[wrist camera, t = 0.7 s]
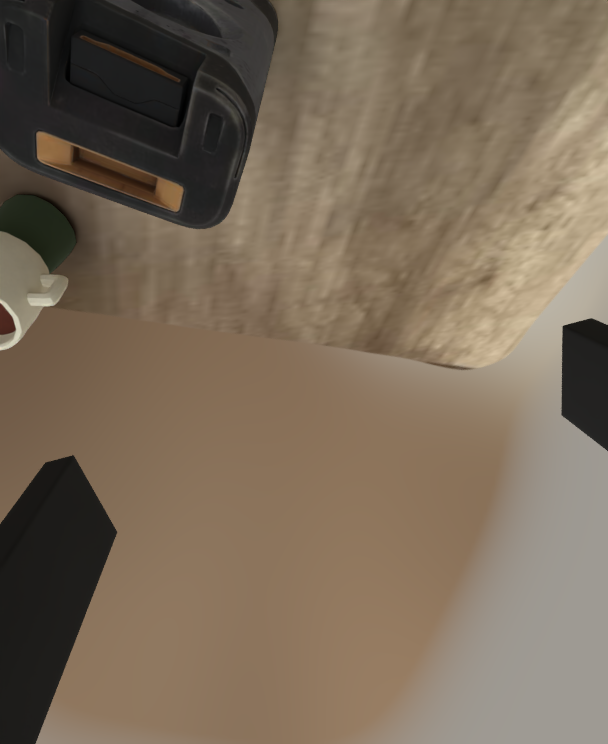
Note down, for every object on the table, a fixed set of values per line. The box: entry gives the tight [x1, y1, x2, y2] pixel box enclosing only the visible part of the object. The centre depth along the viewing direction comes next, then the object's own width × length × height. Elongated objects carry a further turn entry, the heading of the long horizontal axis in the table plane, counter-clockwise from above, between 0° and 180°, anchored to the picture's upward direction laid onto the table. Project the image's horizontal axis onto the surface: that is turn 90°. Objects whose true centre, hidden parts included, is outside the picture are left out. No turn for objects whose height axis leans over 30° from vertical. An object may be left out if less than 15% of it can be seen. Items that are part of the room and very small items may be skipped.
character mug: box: [0, 195, 76, 350], centre depth 36 cm, size 11×7×13 cm, turn 87°
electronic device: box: [0, 0, 278, 229], centre depth 23 cm, size 9×6×20 cm, turn 67°
